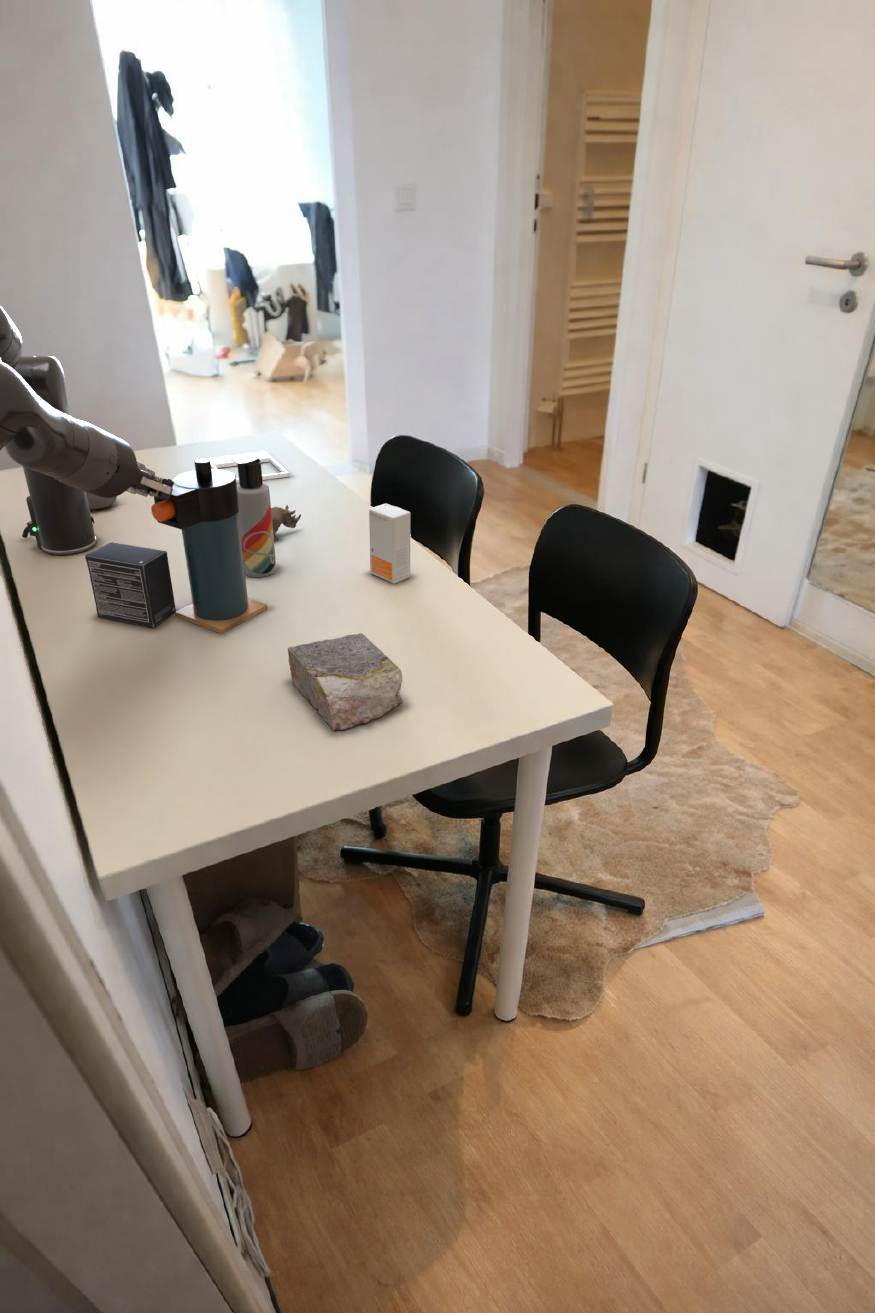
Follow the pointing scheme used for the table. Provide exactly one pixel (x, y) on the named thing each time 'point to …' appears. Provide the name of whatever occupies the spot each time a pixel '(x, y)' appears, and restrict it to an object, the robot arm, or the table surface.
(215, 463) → the photo frame
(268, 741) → the table surface
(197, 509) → the drink bottle
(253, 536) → the lotion bottle
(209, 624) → the coaster
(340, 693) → the geological specimen
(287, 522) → the rhino figurine
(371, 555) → the cosmetic box
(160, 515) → the button
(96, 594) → the small box
